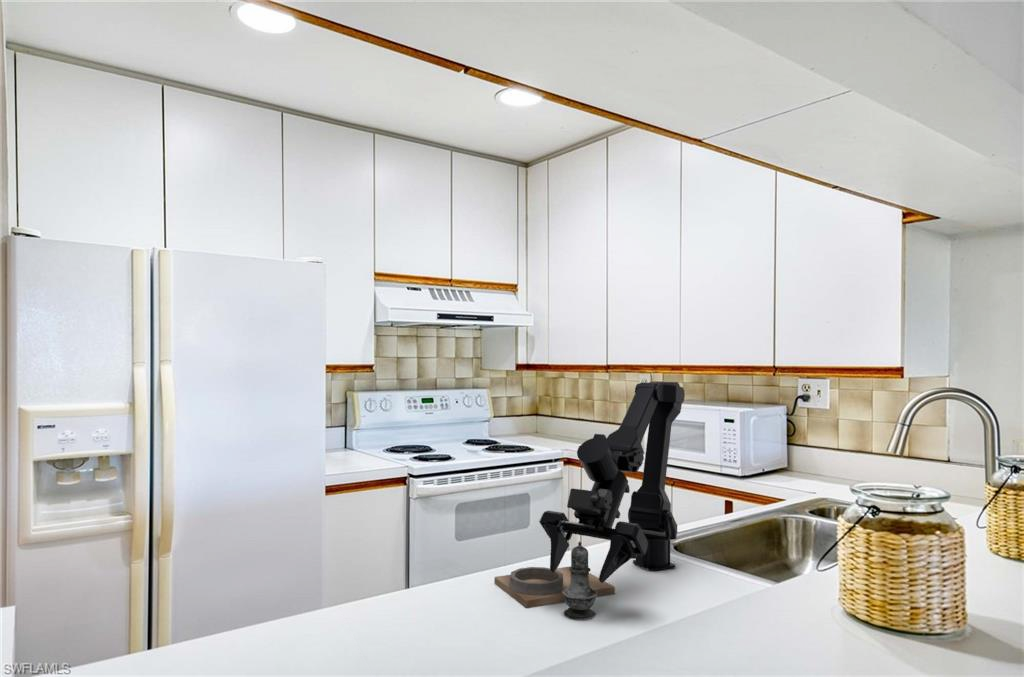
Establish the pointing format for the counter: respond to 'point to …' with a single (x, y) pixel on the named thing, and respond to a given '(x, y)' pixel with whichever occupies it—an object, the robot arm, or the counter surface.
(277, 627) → the counter surface
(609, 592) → the board
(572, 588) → the salt shaker
